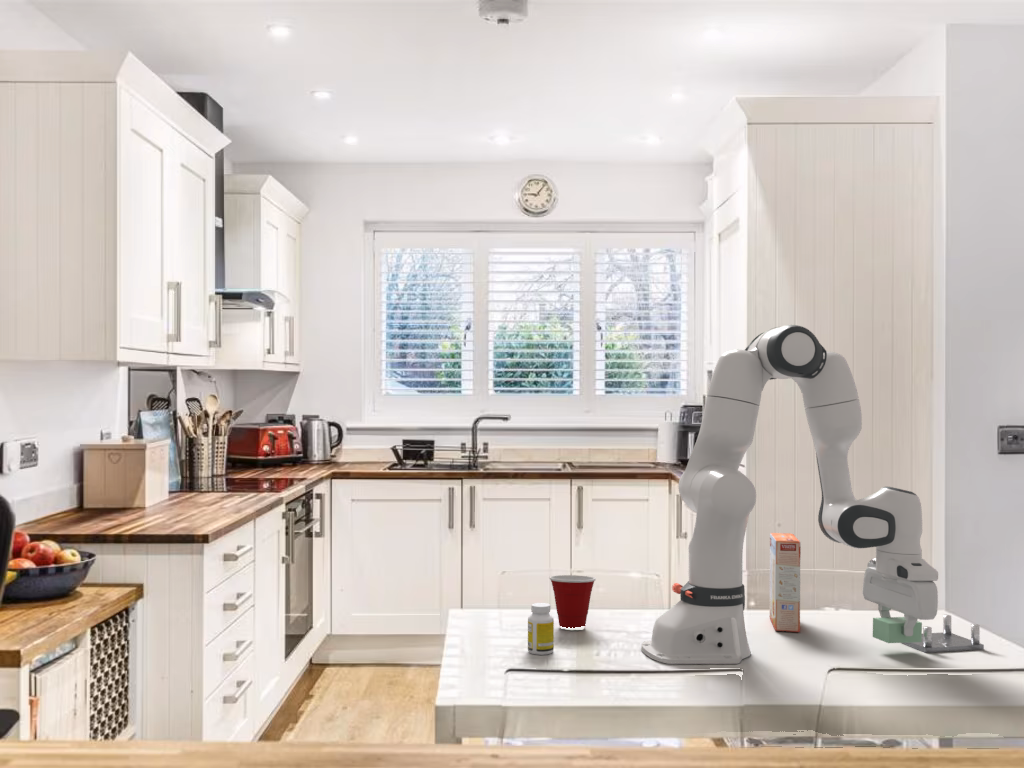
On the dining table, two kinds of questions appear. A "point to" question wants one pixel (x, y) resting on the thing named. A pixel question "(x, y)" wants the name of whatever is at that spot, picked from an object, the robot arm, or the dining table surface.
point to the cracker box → (785, 582)
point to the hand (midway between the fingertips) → (897, 631)
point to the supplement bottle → (540, 630)
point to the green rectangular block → (895, 630)
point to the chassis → (947, 639)
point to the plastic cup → (572, 598)
